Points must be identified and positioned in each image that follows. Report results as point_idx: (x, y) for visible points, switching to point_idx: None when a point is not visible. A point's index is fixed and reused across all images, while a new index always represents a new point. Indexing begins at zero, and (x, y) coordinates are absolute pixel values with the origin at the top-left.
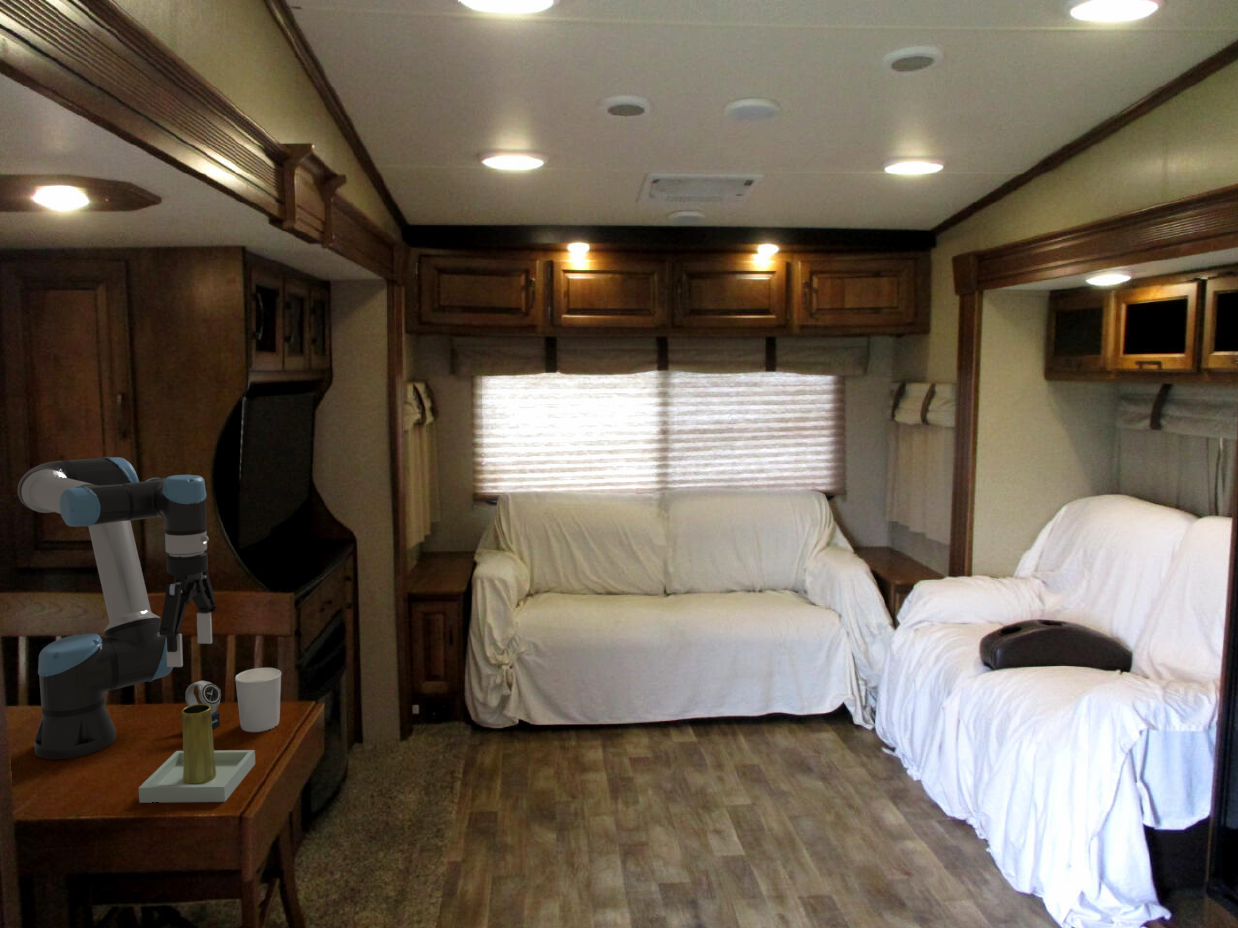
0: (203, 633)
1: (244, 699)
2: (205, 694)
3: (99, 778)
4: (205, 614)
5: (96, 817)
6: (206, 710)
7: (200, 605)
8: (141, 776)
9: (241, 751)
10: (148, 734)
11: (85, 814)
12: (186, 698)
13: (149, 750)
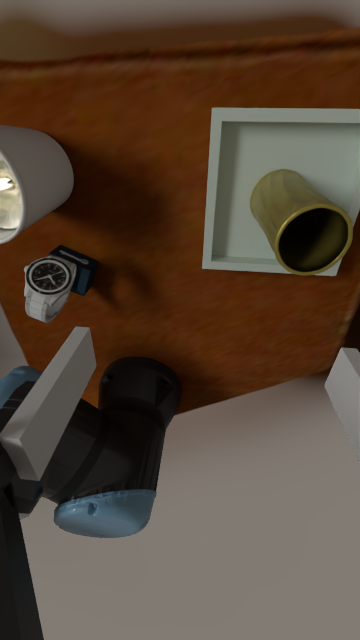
0: (77, 377)
1: (45, 201)
2: (60, 284)
3: (235, 337)
4: (30, 450)
5: (356, 302)
6: (337, 208)
7: (15, 529)
8: (237, 293)
9: (215, 140)
10: (106, 328)
11: (341, 317)
12: (56, 313)
13: (155, 311)
